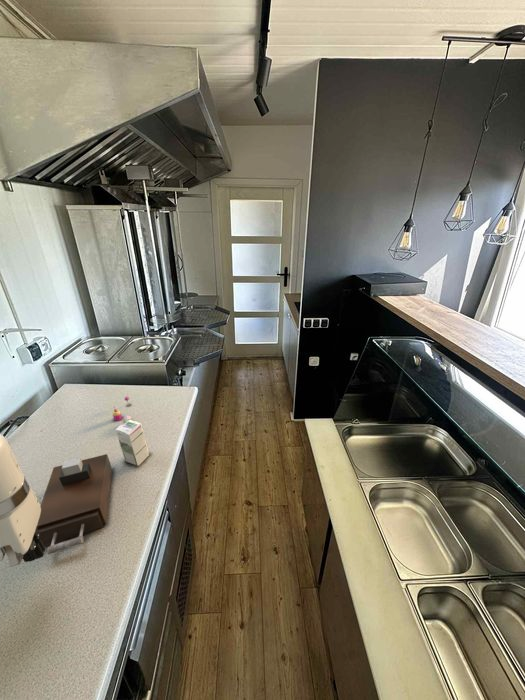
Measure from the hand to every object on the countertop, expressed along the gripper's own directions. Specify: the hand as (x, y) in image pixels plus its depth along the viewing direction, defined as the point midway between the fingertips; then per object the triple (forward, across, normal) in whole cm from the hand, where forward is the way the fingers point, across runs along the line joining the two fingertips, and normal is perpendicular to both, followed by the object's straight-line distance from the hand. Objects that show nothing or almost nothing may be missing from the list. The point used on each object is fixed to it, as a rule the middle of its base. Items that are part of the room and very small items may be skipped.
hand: (35, 555), depth 59 cm
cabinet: (+13, -22, +2) cm, 26 cm away
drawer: (+12, -18, +2) cm, 22 cm away
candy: (+14, -59, +12) cm, 62 cm away
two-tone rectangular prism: (+6, -25, +2) cm, 26 cm away
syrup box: (+13, -34, +17) cm, 40 cm away
